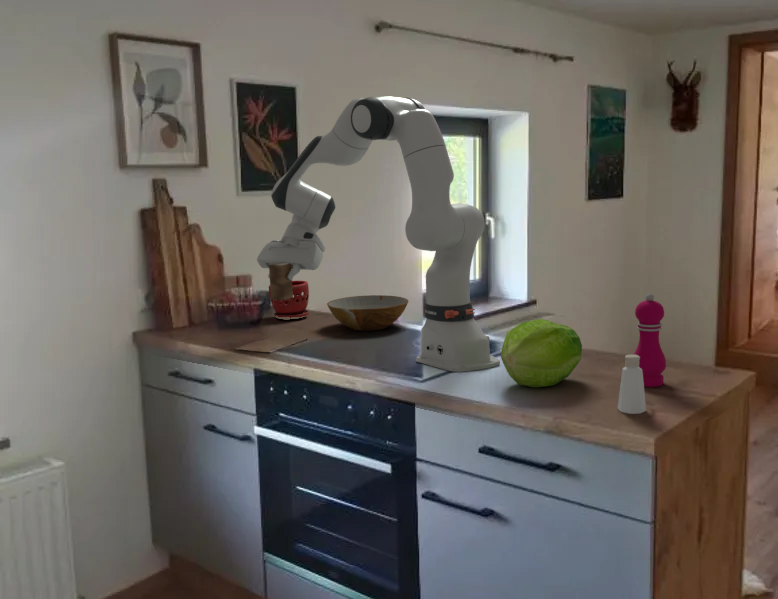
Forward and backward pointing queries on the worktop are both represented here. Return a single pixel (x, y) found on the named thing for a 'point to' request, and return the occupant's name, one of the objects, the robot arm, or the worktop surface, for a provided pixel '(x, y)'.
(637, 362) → the pepper shaker
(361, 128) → the robot arm
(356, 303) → the bowl
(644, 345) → the pepper mill
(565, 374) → the lettuce
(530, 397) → the worktop surface
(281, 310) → the plant pot
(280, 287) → the block
